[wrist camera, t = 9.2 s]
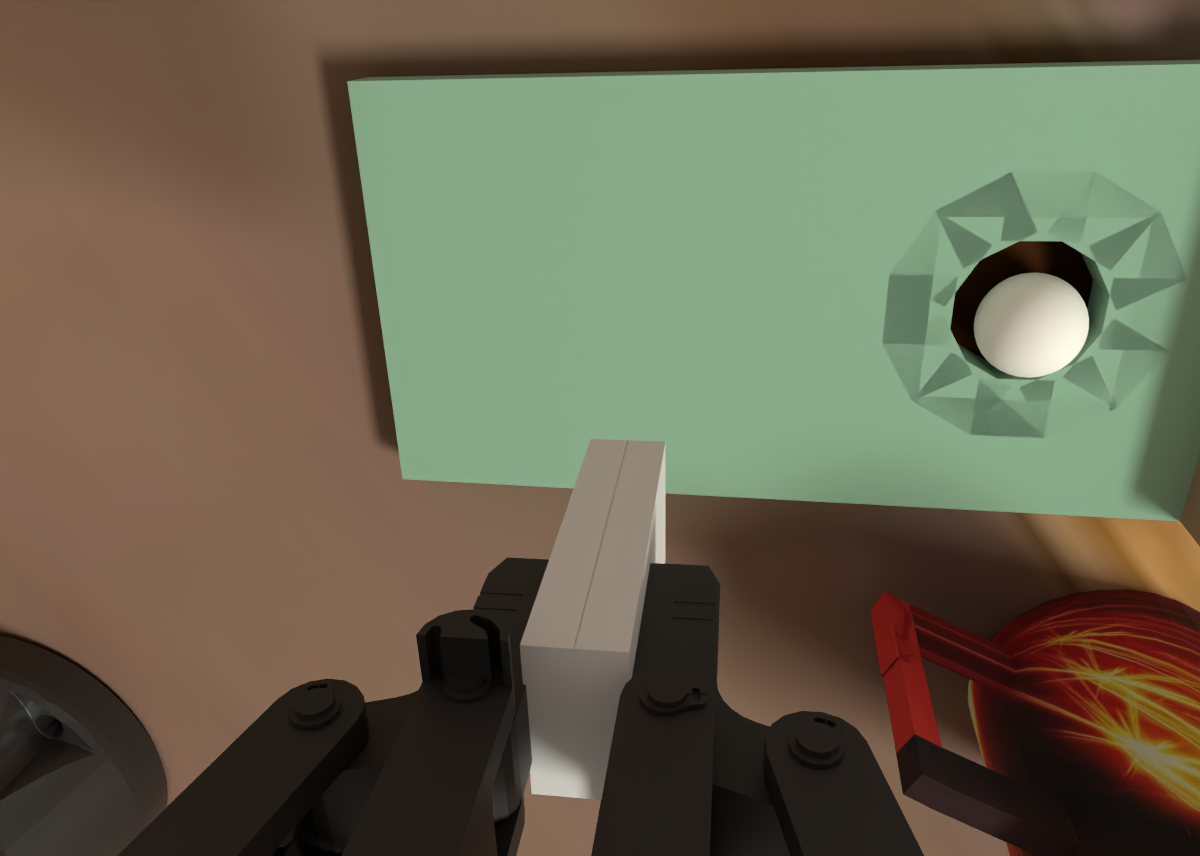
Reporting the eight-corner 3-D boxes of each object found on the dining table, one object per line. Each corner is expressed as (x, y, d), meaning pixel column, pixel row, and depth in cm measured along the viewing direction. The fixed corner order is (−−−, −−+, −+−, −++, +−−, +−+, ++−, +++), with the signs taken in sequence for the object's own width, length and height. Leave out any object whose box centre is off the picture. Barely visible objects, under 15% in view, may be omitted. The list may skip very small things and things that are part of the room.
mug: (868, 572, 35) (913, 830, 24) (1273, 597, 32) (1522, 896, 22) (848, 763, 39) (878, 1057, 28) (1205, 798, 36) (1387, 1132, 26)
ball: (1100, 381, 28) (1040, 321, 30) (1123, 298, 26) (1057, 240, 28) (1002, 410, 28) (949, 348, 30) (1017, 329, 26) (959, 269, 28)
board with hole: (417, 459, 36) (382, 505, 33) (367, 77, 30) (318, 87, 27) (1200, 499, 31) (1249, 557, 28) (1326, 57, 25) (1406, 66, 22)
